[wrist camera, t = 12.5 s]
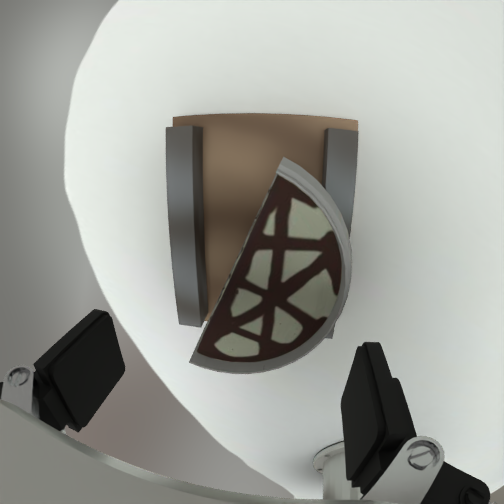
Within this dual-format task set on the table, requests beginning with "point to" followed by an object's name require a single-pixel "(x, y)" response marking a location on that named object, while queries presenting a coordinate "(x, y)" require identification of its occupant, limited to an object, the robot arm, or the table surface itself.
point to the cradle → (241, 189)
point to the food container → (281, 281)
